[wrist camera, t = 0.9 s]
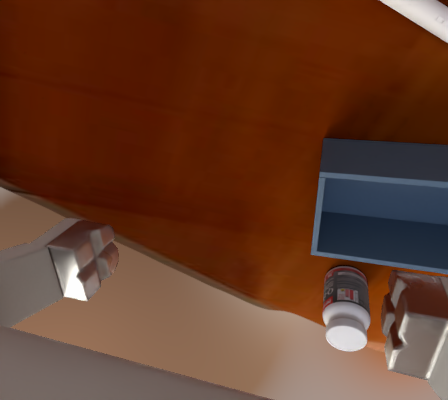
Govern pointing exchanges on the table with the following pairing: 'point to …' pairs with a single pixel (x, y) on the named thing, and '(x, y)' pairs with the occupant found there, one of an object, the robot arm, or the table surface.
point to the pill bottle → (346, 308)
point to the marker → (424, 14)
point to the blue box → (383, 204)
